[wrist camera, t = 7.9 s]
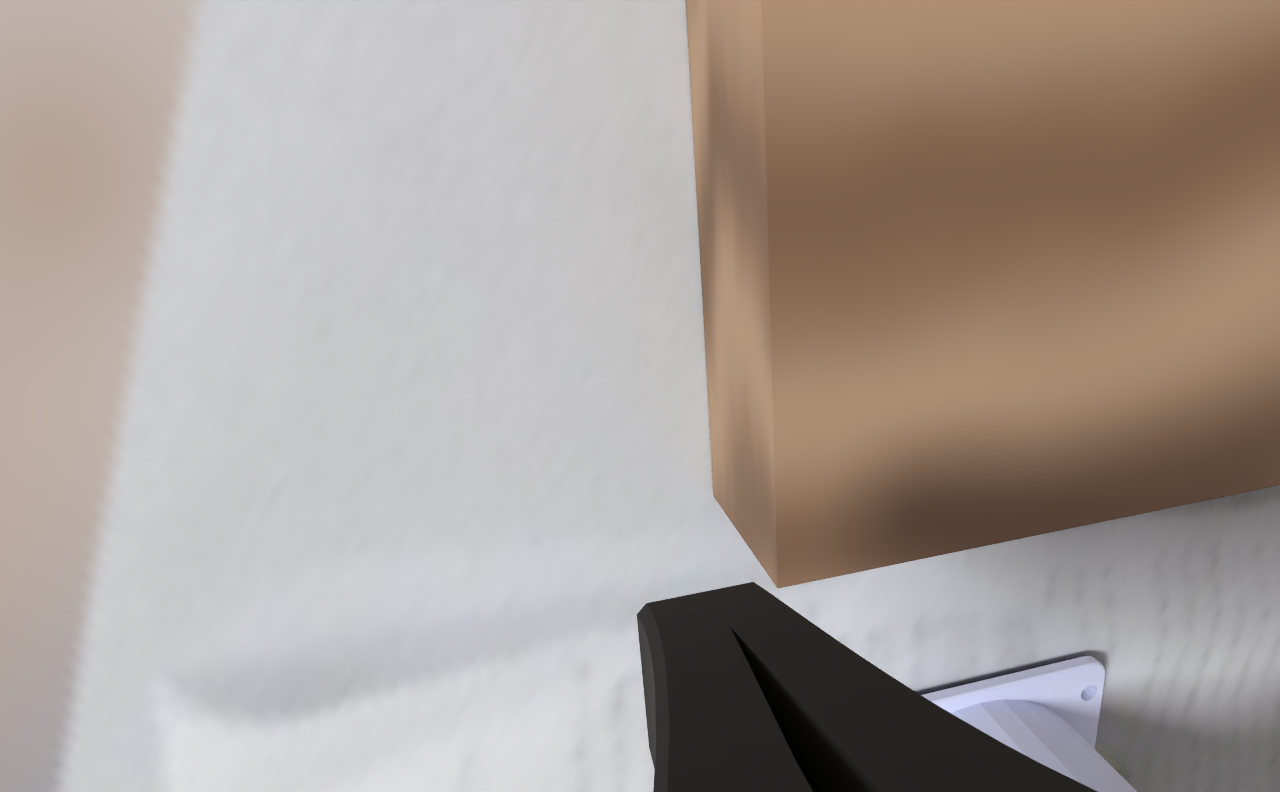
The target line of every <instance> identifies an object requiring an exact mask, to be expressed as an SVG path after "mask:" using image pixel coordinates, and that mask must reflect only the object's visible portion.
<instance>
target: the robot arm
mask: <svg viewBox="0 0 1280 792" xmlns="http://www.w3.org/2000/svg"><path fill="white" fill-rule="evenodd" d="M637 621H638V631H639V642H640V653H641V663H642V674H643V685H644V696H645V706H646V717H647V728H648V738H649V748H650V752H651V756H652V760H653V764H654V768H655V776H654V792H1137V791H1136V790H1135V789H1134V788H1133V787H1132V786H1131V785H1130V784H1129V783H1128V782H1127V781H1126V780H1125V779H1124V778H1123V777H1122V776H1121V775H1120V774H1119V773H1118V772H1117V771H1116V770H1115V769H1114V768H1113V767H1112V766H1111V765H1110V764H1109V763H1108V762H1107V761H1106V760H1105V759H1104V758H1103V757H1102V756H1101V755H1100V754H1099V753H1098V752H1097V751H1096V750H1095V744H1096V737H1097V730H1098V722H1099V715H1100V708H1101V701H1102V694H1103V687H1104V680H1105V668H1104V666H1103V665H1102V664H1101V663H1100V662H1099V661H1098V660H1096V659H1095V658H1094V657H1091V656H1083V657H1079V658H1075V659H1070V660H1066V661H1062V662H1058V663H1054V664H1049V665H1045V666H1041V667H1037V668H1033V669H1028V670H1024V671H1020V672H1016V673H1012V674H1007V675H1003V676H999V677H995V678H991V679H986V680H982V681H978V682H974V683H970V684H965V685H961V686H957V687H953V688H949V689H944V690H940V691H936V692H932V693H928V694H923V695H920V694H918V693H917V692H915V691H913V690H912V689H910V688H908V687H907V686H905V685H904V684H902V683H901V682H899V681H897V680H896V679H894V678H893V677H891V676H890V675H888V674H887V673H885V672H883V671H882V670H880V669H879V668H877V667H876V666H874V665H873V664H871V663H870V662H868V661H867V660H865V659H864V658H862V657H861V656H859V655H858V654H856V653H855V652H853V651H852V650H850V649H849V648H847V647H846V646H844V645H843V644H842V643H840V642H839V641H837V640H836V639H834V638H833V637H831V636H830V635H829V634H827V633H826V632H824V631H823V630H821V629H820V628H818V627H817V626H816V625H814V624H813V623H811V622H810V621H808V620H807V619H806V618H804V617H803V616H801V615H800V614H799V613H797V612H796V611H794V610H793V609H791V608H790V607H789V606H787V605H786V604H784V603H783V602H782V601H780V600H779V599H777V598H776V597H775V596H773V595H772V594H770V593H769V592H767V591H766V590H764V589H763V588H761V587H760V586H758V585H757V584H756V583H754V582H751V583H746V584H741V585H736V586H731V587H726V588H721V589H716V590H711V591H706V592H701V593H696V594H691V595H686V596H681V597H676V598H671V599H666V600H661V601H656V602H651V603H646V605H645V606H644V607H643V608H642V609H641V610H640V612H639V613H638V614H637Z"/></svg>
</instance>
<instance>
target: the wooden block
mask: <svg viewBox="0 0 1280 792" xmlns="http://www.w3.org/2000/svg"><path fill="white" fill-rule="evenodd" d="M686 14H687V31H688V49H689V67H690V85H691V103H692V120H693V138H694V156H695V174H696V191H697V209H698V227H699V245H700V263H701V280H702V298H703V316H704V334H705V351H706V369H707V387H708V405H709V422H710V440H711V458H712V476H713V494H714V497H715V499H716V500H717V502H718V503H719V505H720V506H721V507H722V509H723V510H724V512H725V513H726V515H727V516H728V518H729V519H730V520H731V522H732V523H733V525H734V526H735V528H736V529H737V531H738V532H739V533H740V535H741V536H742V538H743V539H744V541H745V542H746V543H747V545H748V546H749V548H750V549H751V551H752V552H753V554H754V555H755V556H756V558H757V559H758V561H759V562H760V564H761V565H762V567H763V568H764V569H765V571H766V572H767V574H768V575H769V577H770V578H771V579H772V581H773V582H774V584H775V585H776V587H777V588H782V587H787V586H792V585H797V584H802V583H806V582H811V581H816V580H821V579H826V578H831V577H836V576H840V575H845V574H850V573H855V572H860V571H865V570H870V569H874V568H879V567H884V566H889V565H894V564H899V563H904V562H908V561H913V560H918V559H923V558H928V557H933V556H938V555H943V554H947V553H952V552H957V551H962V550H967V549H972V548H977V547H981V546H986V545H991V544H996V543H1001V542H1006V541H1011V540H1015V539H1020V538H1025V537H1030V536H1035V535H1040V534H1045V533H1049V532H1054V531H1059V530H1064V529H1069V528H1074V527H1079V526H1083V525H1088V524H1093V523H1098V522H1103V521H1108V520H1113V519H1117V518H1122V517H1127V516H1132V515H1137V514H1142V513H1147V512H1151V511H1156V510H1161V509H1166V508H1171V507H1176V506H1181V505H1185V504H1190V503H1195V502H1200V501H1205V500H1210V499H1215V498H1219V497H1224V496H1229V495H1234V494H1239V493H1244V492H1249V491H1253V490H1258V489H1263V488H1268V487H1273V486H1278V485H1280V0H686Z"/></svg>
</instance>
